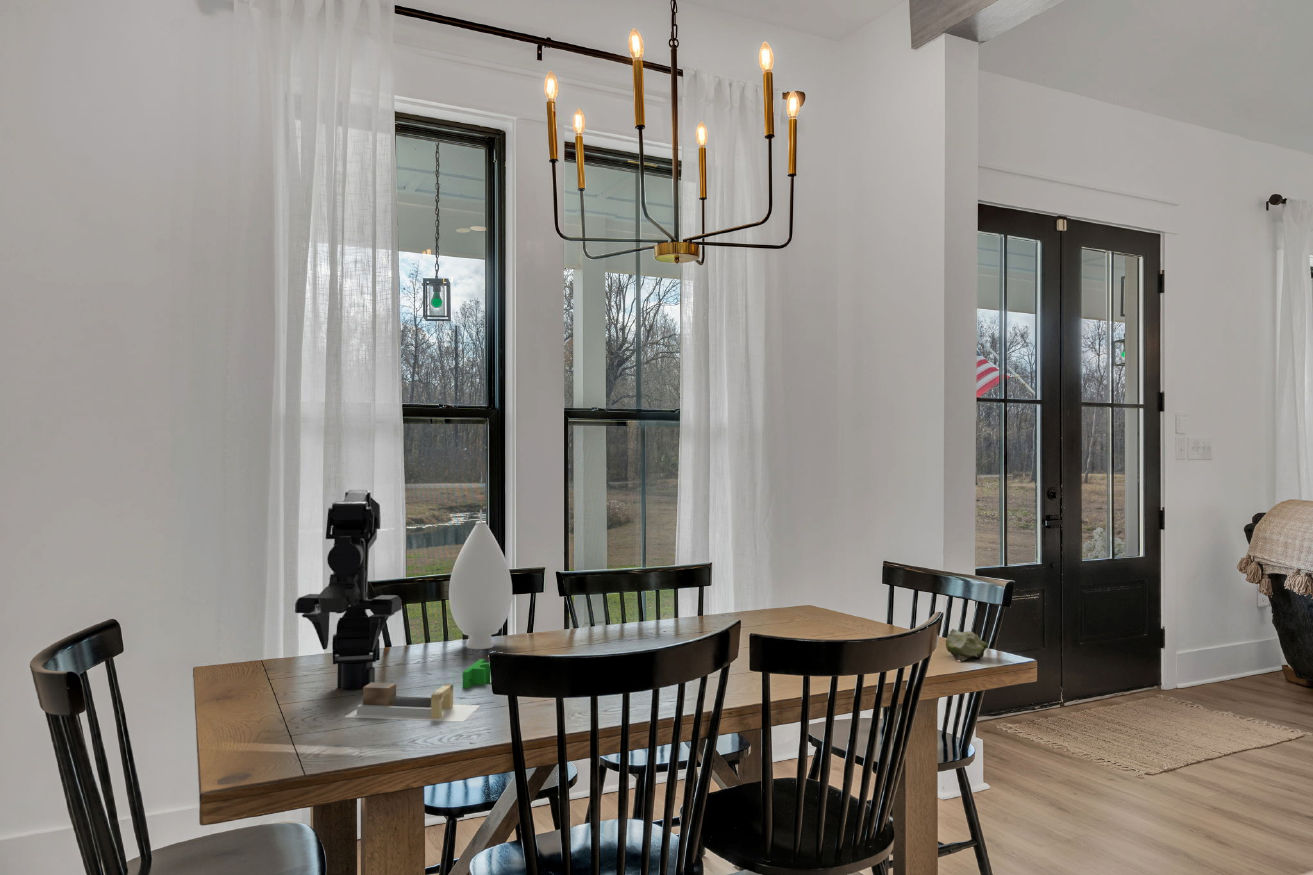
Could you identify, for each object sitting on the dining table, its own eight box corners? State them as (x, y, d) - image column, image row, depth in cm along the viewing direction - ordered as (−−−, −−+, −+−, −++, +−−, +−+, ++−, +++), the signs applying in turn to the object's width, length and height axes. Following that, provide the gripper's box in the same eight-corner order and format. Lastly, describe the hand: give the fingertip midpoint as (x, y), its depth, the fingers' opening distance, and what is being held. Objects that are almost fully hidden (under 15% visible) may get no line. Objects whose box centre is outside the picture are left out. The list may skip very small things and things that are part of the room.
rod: (394, 715, 162) (391, 704, 160) (400, 704, 164) (397, 693, 163) (430, 716, 161) (428, 705, 160) (435, 705, 163) (433, 694, 162)
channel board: (344, 722, 159) (344, 693, 159) (368, 706, 169) (368, 679, 169) (463, 727, 156) (463, 697, 157) (480, 710, 166) (480, 682, 166)
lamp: (515, 651, 215) (516, 510, 216) (449, 655, 211) (451, 511, 212) (508, 638, 231) (509, 506, 231) (447, 641, 226) (448, 507, 227)
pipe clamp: (479, 694, 178) (480, 672, 178) (462, 694, 179) (462, 671, 179) (496, 679, 189) (496, 658, 189) (479, 679, 190) (479, 658, 190)
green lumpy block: (938, 661, 213) (937, 627, 215) (971, 662, 216) (969, 629, 217) (960, 662, 205) (958, 628, 206) (994, 664, 207) (992, 629, 209)
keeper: (362, 711, 162) (363, 687, 162) (370, 706, 165) (371, 682, 165) (388, 712, 161) (388, 688, 162) (396, 707, 165) (396, 683, 165)
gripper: (280, 572, 157) (279, 658, 157) (380, 574, 156) (379, 661, 156) (309, 564, 169) (308, 645, 168) (403, 566, 167) (402, 647, 167)
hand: (348, 649), depth 165 cm, fingers open, 9 cm apart
